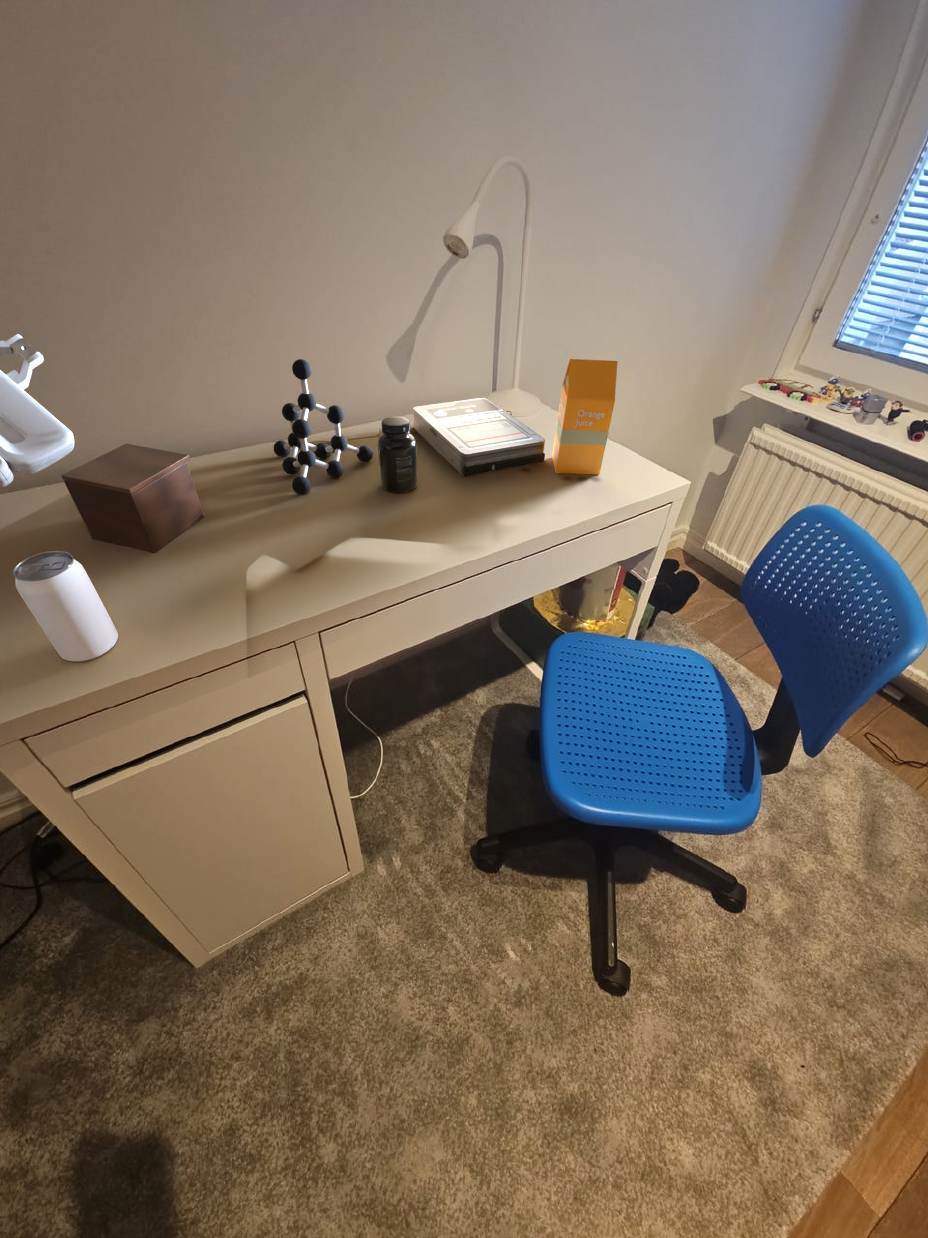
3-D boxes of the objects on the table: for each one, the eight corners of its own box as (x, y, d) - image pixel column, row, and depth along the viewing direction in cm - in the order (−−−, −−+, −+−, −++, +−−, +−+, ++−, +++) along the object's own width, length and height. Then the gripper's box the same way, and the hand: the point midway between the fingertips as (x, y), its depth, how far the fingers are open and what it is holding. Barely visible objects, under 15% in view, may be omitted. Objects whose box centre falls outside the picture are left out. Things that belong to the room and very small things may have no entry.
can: (66, 632, 68) (17, 552, 60) (123, 623, 69) (83, 544, 61) (53, 668, 63) (-1, 587, 55) (115, 658, 65) (70, 577, 57)
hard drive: (463, 476, 104) (464, 454, 101) (412, 426, 122) (411, 406, 119) (544, 461, 110) (547, 440, 107) (484, 416, 128) (485, 397, 125)
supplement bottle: (420, 478, 103) (418, 415, 95) (414, 495, 98) (412, 430, 90) (384, 475, 103) (380, 412, 95) (376, 492, 98) (371, 427, 90)
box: (145, 504, 92) (123, 450, 86) (204, 517, 90) (186, 461, 83) (91, 538, 84) (63, 480, 77) (155, 553, 81) (131, 494, 75)
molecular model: (377, 461, 108) (368, 353, 95) (302, 499, 95) (280, 381, 82) (314, 439, 115) (298, 336, 102) (237, 472, 102) (207, 359, 89)
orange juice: (599, 474, 106) (622, 367, 93) (555, 472, 106) (571, 365, 93) (593, 457, 112) (614, 354, 99) (551, 456, 112) (566, 352, 99)
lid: (127, 447, 86) (126, 443, 86) (190, 459, 84) (189, 454, 83) (63, 480, 77) (60, 475, 77) (131, 494, 75) (129, 489, 74)
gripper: (-177, 347, 55) (-54, 280, 60) (16, 498, 63) (109, 426, 69) (-206, 317, 50) (-69, 245, 55) (8, 485, 58) (110, 408, 63)
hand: (31, 347), depth 62 cm, fingers closed
